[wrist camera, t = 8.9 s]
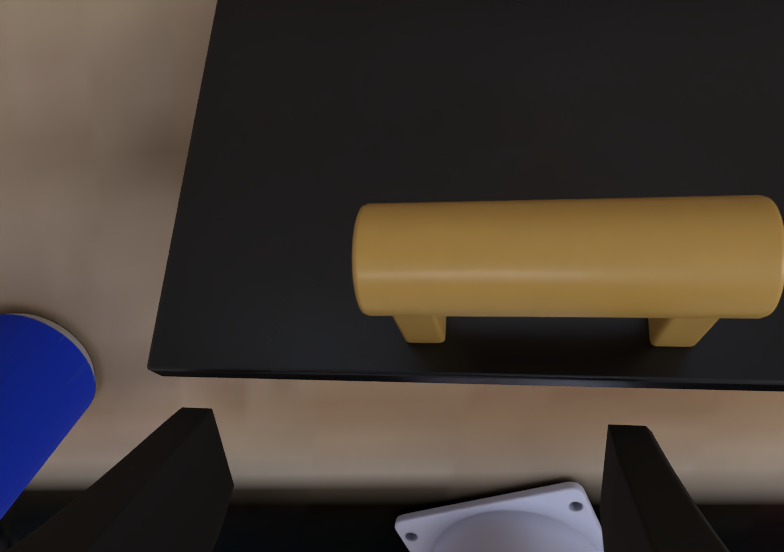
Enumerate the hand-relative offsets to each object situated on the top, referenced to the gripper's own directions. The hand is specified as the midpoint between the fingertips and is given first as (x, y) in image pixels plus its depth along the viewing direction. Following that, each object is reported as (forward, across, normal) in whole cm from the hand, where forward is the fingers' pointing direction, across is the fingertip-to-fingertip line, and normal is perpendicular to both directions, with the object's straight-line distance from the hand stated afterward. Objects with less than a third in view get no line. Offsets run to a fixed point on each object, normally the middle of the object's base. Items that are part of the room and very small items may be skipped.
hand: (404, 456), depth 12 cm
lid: (+4, -2, -4) cm, 6 cm away
